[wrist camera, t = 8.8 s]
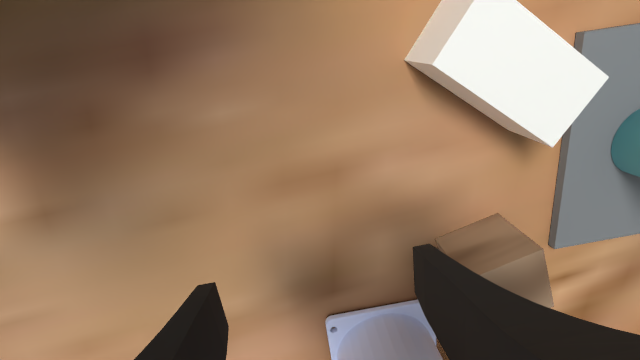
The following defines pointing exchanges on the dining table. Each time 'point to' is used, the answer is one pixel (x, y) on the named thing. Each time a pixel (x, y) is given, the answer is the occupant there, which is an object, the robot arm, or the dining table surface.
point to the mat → (599, 147)
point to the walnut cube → (501, 257)
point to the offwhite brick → (507, 66)
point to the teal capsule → (628, 145)
